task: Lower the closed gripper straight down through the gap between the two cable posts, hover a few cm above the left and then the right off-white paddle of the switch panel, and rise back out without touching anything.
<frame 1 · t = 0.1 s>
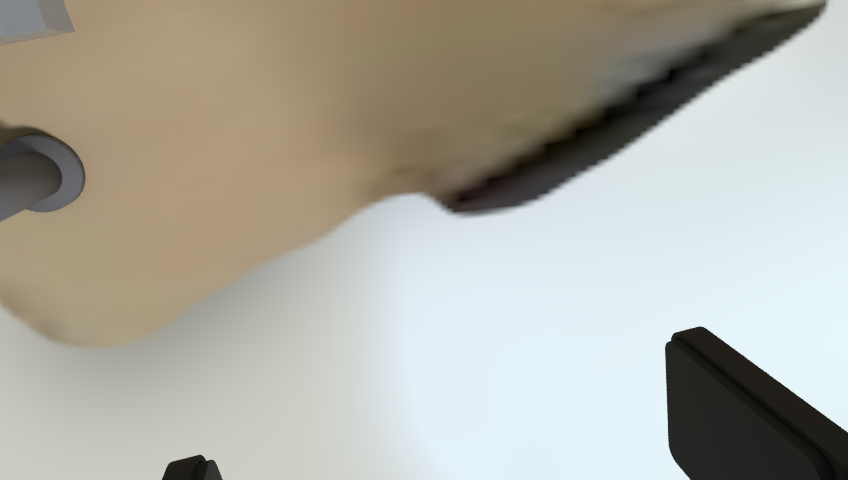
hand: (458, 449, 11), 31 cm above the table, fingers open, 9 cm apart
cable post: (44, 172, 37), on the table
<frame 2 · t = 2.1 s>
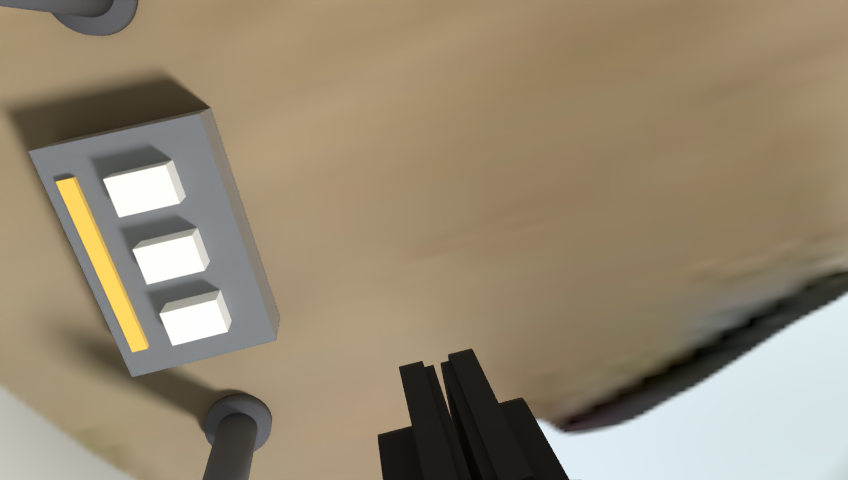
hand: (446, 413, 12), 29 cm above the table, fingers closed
switch panel: (178, 234, 40), on the table
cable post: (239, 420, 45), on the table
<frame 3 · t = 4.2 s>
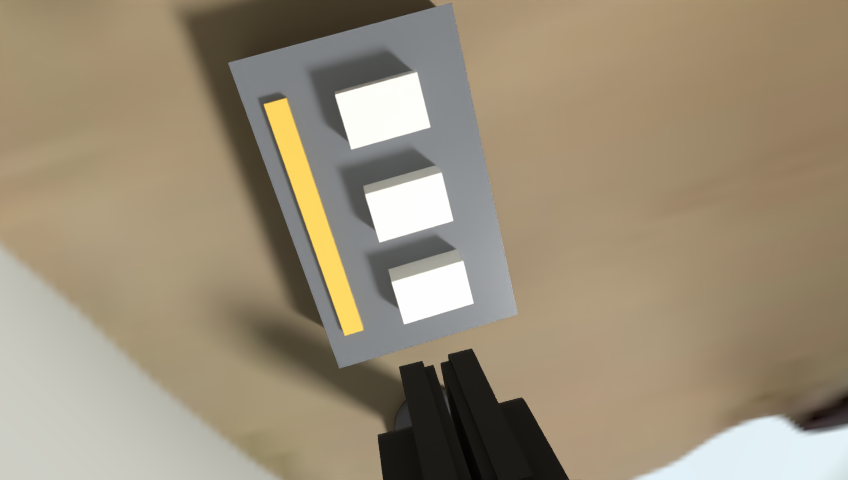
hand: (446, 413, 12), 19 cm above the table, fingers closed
switch panel: (382, 183, 31), on the table
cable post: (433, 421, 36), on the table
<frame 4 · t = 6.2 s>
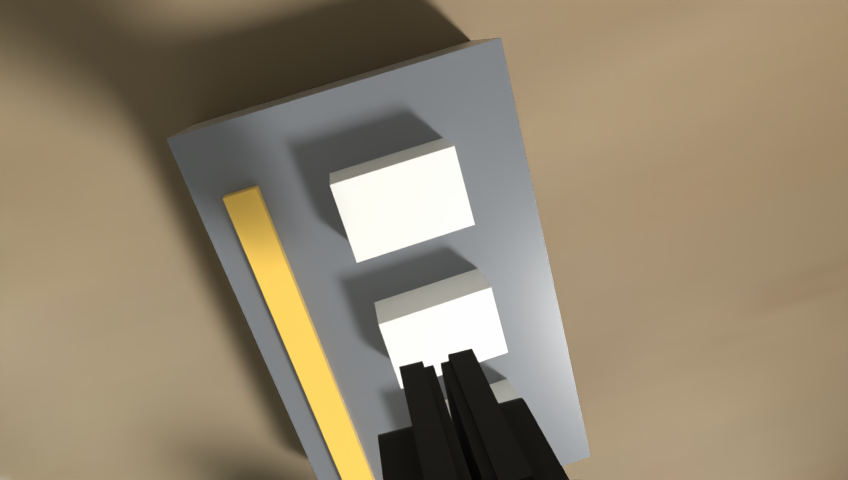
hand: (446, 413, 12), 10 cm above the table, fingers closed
switch panel: (398, 278, 22), on the table
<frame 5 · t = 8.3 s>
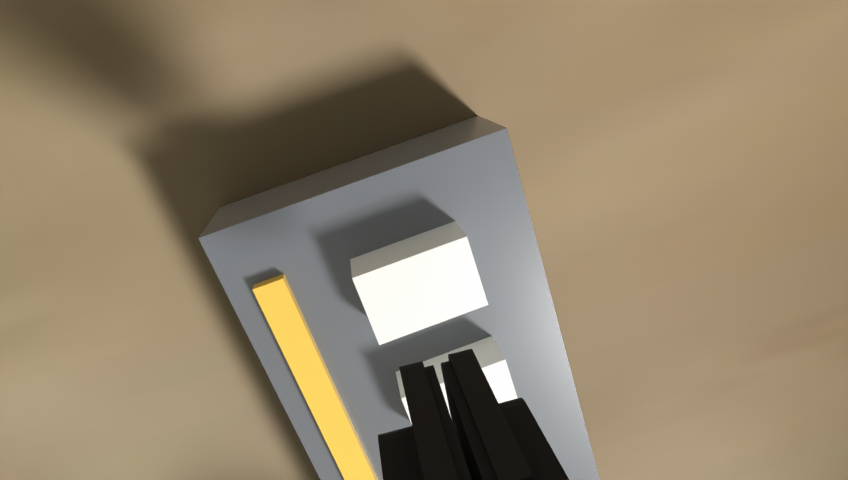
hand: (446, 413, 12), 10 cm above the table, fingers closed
switch panel: (416, 335, 24), on the table
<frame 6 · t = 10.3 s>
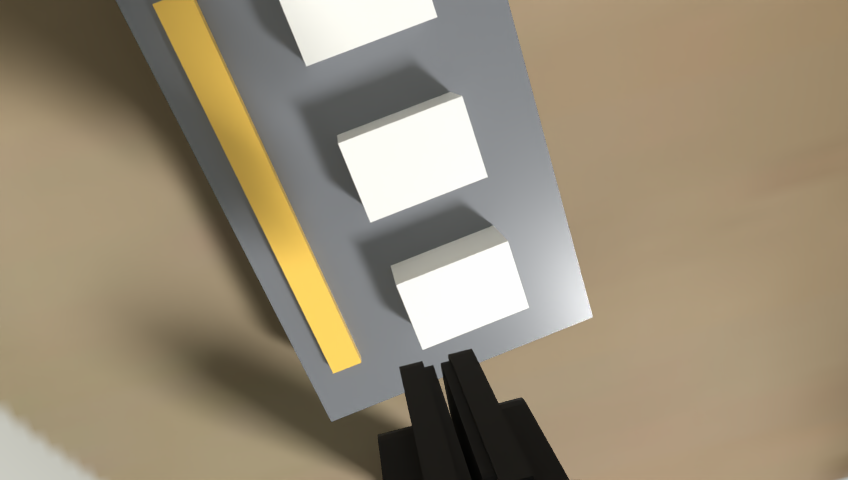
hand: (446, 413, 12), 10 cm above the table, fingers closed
switch panel: (373, 140, 21), on the table
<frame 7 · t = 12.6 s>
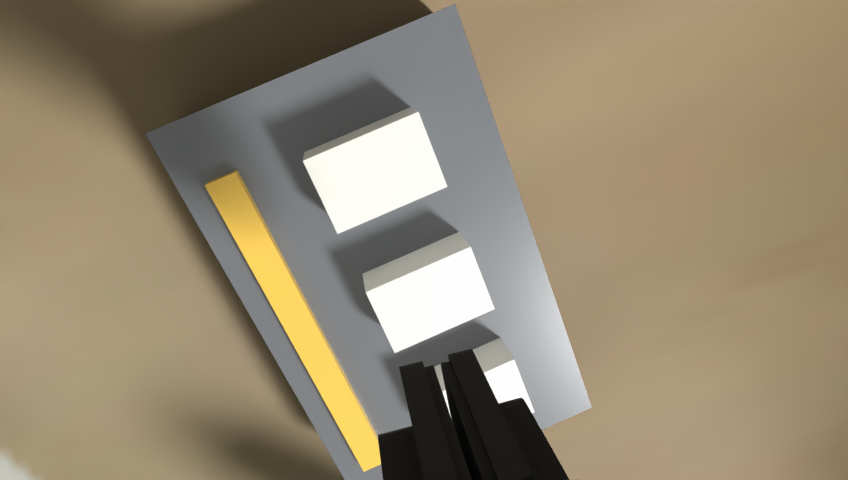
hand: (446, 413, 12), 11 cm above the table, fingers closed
switch panel: (389, 253, 23), on the table
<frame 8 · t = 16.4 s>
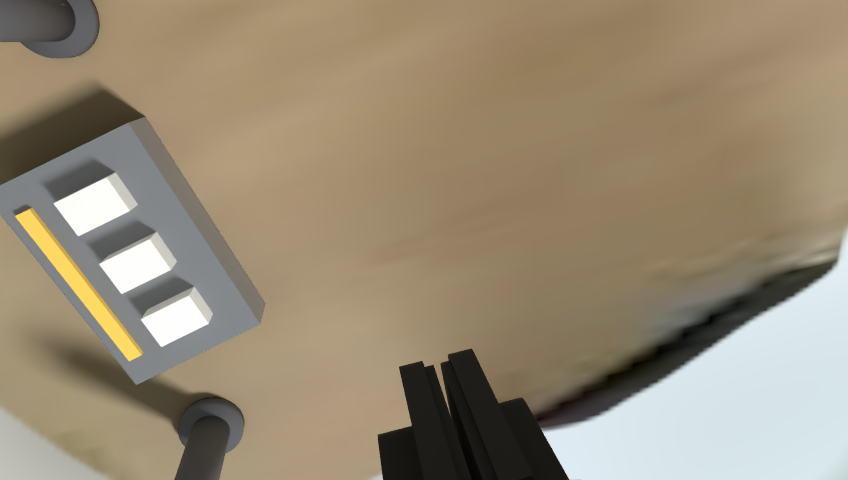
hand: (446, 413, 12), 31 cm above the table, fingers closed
switch panel: (150, 244, 41), on the table
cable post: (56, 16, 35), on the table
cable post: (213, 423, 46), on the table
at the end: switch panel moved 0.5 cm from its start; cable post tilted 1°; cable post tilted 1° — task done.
